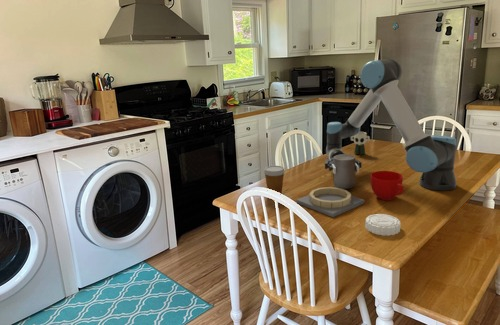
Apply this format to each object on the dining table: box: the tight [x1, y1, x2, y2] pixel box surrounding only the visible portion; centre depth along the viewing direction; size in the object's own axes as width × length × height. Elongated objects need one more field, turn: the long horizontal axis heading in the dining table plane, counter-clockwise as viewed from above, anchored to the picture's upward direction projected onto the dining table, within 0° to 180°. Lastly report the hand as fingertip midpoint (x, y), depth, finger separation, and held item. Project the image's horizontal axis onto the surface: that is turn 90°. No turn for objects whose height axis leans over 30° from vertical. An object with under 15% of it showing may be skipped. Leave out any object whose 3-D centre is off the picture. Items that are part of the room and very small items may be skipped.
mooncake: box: [364, 213, 401, 237], centre depth 137 cm, size 12×12×4 cm
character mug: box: [350, 131, 371, 155], centre depth 230 cm, size 11×7×13 cm, turn 67°
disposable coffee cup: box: [263, 165, 286, 193], centre depth 174 cm, size 10×10×12 cm
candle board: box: [295, 186, 365, 218], centre depth 161 cm, size 20×20×4 cm
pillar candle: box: [333, 153, 356, 190], centre depth 175 cm, size 10×10×15 cm
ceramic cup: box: [370, 170, 404, 201], centre depth 161 cm, size 13×17×10 cm
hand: (346, 170), depth 170 cm, fingers closed on pillar candle, 9 cm apart
